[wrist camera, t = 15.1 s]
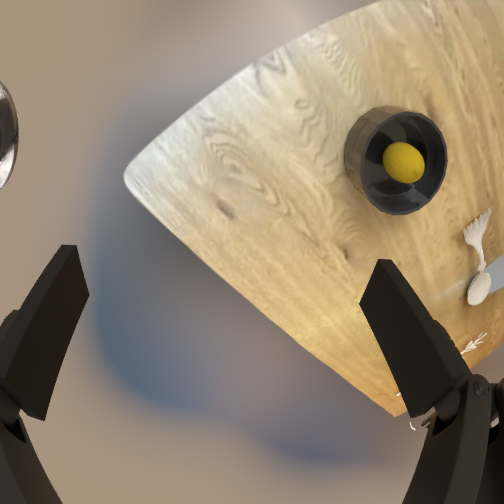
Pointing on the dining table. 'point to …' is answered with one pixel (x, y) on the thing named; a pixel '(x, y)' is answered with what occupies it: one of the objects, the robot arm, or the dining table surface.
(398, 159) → the lemon
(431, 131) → the black mixing bowl
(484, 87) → the dining table surface
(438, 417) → the robot arm
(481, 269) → the back scratcher
